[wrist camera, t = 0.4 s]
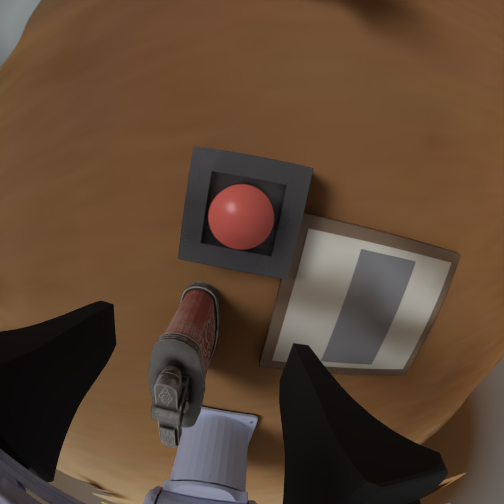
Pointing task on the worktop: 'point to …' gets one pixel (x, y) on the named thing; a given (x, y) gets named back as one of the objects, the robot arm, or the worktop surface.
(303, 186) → the button housing
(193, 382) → the lighter
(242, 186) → the button
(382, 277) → the board
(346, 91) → the worktop surface
